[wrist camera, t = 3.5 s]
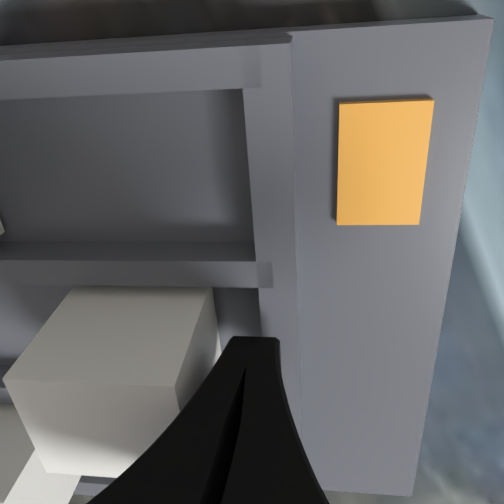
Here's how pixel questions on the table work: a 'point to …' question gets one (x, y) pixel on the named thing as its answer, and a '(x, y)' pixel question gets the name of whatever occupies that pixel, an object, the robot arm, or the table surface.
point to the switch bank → (257, 205)
